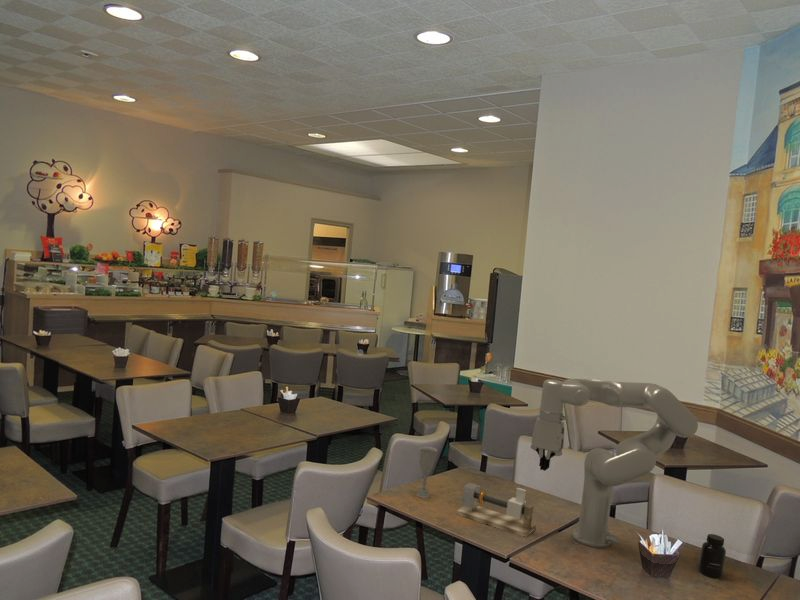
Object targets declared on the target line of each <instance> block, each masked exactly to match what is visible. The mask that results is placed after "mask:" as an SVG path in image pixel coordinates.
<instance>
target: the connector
mask: <svg viewBox="0 0 800 600" xmlns="http://www.w3.org/2000/svg"><path fill="white" fill-rule="evenodd" d="M480 488H481V486H480V485H479V484H475V483H472V482H468V483H467V484H465V485H463V492H462V493H463V494H462V502H461V507H460V508H461V509H463V510H466V511H469V512H472V511H474V510H476V509H477V506H479V505H478V504H481V505H483V504H485V503H486V501H483V500H482V499H483V496H484V495H486V496H487V492H486V491H483V490H480ZM476 493H479V494H480V495H479V499H476V498H475V494H476Z"/></svg>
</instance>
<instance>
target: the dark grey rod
mask: <svg viewBox="0 0 800 600" xmlns="http://www.w3.org/2000/svg"><path fill="white" fill-rule="evenodd" d="M479 495H480V492H479V493H476V494H475V498H476V499H479ZM482 500H483V501H485V503H489V504H493V505H496V506H498V507H502V508H505V509H507V503H508V501H505V500H503V499H499V498H495V497H492V496H489V495H487V494H486V495H484V496H483V499H482ZM524 511H525V508H524V507H522V512H521V513H524Z"/></svg>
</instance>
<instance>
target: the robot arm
mask: <svg viewBox="0 0 800 600" xmlns="http://www.w3.org/2000/svg"><path fill="white" fill-rule="evenodd" d="M542 383H543V384H542V389H541V391H542V392H541V399H540V405H539V413H538V417H536V420H535V423H534V426H533V431H532V436H531V444H530V449H532V450H533V451H535V452H536V453H537V455H538V457H539V467H540V468H539V470H540V471H542V470H543V471H544V472H545V471H547V470H548V469H549V468H550V465H551V459H552V458H553V457H560V456H562V455H563V449H564V445H565V422H563V421H567V416H566V415H564V405H565V404H567V405H571V406H575V407H583V406H585V405H587V404H588V403H589V402H590V401H592V402H598V403H601V404H605V405H608V406H610V407H616V408H634V409H635V408H636V409H649V410H651V411H653V412H654V413H655V414H656V415H657V416H656V421H655V423H654V425H653V426H652V427H651V428H650V429H649V430H646V431H644V432H642V433H639V434H637V435H634V436H631V437H629V438H626V439H624V440H622V441H620V442H619V443H618V444H617V445H616V447H615V455H614V454H613V453H611V452H610V451H609V450H607V449H605V448H601V447H595V448H592V449H591V450H590V451H588V452H587V454H586V456H585V458H584V464H583V468H584V472H583V473H584V474H583V475H584V477H583V479H584V480H583V489H582V495H581V503H580V513H579V517H578V527H577V529H574V530H573V531H572V538H573V539H574V540H575V541H577V542H578V543H580V544H582V545H585V546H589V547H593V548H607V547H610V546H611V543H613V544H616V545H619V544H620V538H619V537H618V535H615V534H612V533H611V532H610V528H608V527H609V520H610V513H611V506H612V505H611V503H612V497H613V489H614V488H613V487H617V486H621V485H624V484H626V483H629V482H632V481H635V480H637V479H640V478H642V477H644V476H646V475H649V474H650V473H651V472H652V471H653V470H654V468H655V466H656V465H657V456H659V455H662V454H664V453H666V451H668V450H669V449H670V448H671V446H672V445H673V444H674V441H675V439H676V438H677V437H680V438H690V437H692V436H694V435H695V434H696V433H697V431H698V428H699V427H698V426H699V424H698V420H697V418H696V416H695V415H694V414H693V413H692V412H691V411H690V410H689V409H688V407H686V406H685V405H684V404H683V403H682V402H681V401H680V400H679V398H677V397H676V395H674V393H673V392H671V391H670V390H669V389H667V388H666V387H663V386H661V385H659V384H657V383H652V382H626V381H611V380H601V379H600V380H599V379H588V378H568V379H565V380H563V381H562V380H558V379H552V378H551V379H545V380H544V381H543V382H542ZM546 451H547V452H546Z"/></svg>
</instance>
